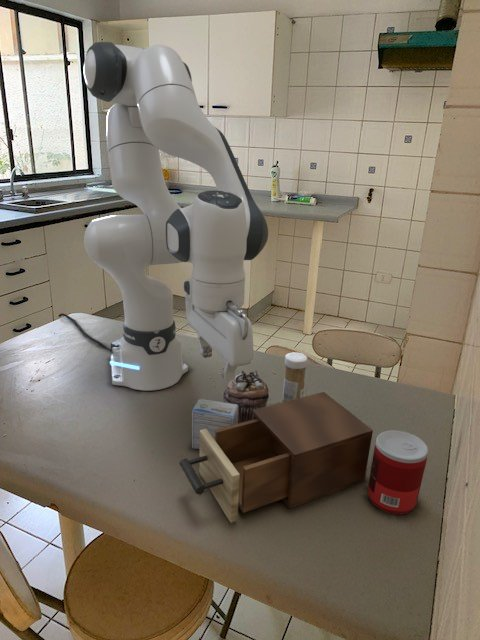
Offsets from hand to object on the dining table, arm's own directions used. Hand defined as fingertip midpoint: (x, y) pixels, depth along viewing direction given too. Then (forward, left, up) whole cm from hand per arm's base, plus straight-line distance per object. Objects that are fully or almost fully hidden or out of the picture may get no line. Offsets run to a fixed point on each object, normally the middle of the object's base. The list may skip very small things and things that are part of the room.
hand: (216, 366), depth 82 cm
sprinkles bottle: (-4, +20, -17) cm, 27 cm away
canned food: (+25, +21, -17) cm, 37 cm away
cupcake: (-7, +10, -17) cm, 21 cm away
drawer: (+13, -1, -16) cm, 21 cm away
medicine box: (0, 0, -17) cm, 17 cm away
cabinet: (+13, +12, -17) cm, 25 cm away
